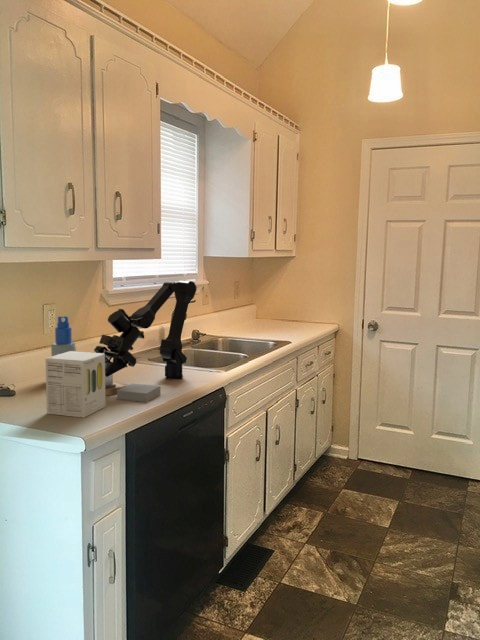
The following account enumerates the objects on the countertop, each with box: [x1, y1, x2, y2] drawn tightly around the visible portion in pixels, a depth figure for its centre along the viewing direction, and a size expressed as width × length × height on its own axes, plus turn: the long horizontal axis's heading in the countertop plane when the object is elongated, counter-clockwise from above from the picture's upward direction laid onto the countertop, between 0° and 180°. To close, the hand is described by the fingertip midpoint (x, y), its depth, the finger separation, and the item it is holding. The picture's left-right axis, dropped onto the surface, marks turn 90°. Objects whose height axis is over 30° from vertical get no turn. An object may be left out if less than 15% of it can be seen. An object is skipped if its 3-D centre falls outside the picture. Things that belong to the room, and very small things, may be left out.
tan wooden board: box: [105, 380, 129, 397], centre depth 191 cm, size 12×8×3 cm, turn 139°
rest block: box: [116, 382, 161, 403], centre depth 185 cm, size 11×11×3 cm
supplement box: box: [45, 350, 106, 419], centre depth 167 cm, size 13×13×18 cm
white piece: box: [105, 359, 114, 386], centre depth 189 cm, size 4×4×9 cm
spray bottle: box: [50, 315, 77, 357], centre depth 205 cm, size 9×9×25 cm
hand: (101, 374), depth 188 cm, fingers open, 5 cm apart
